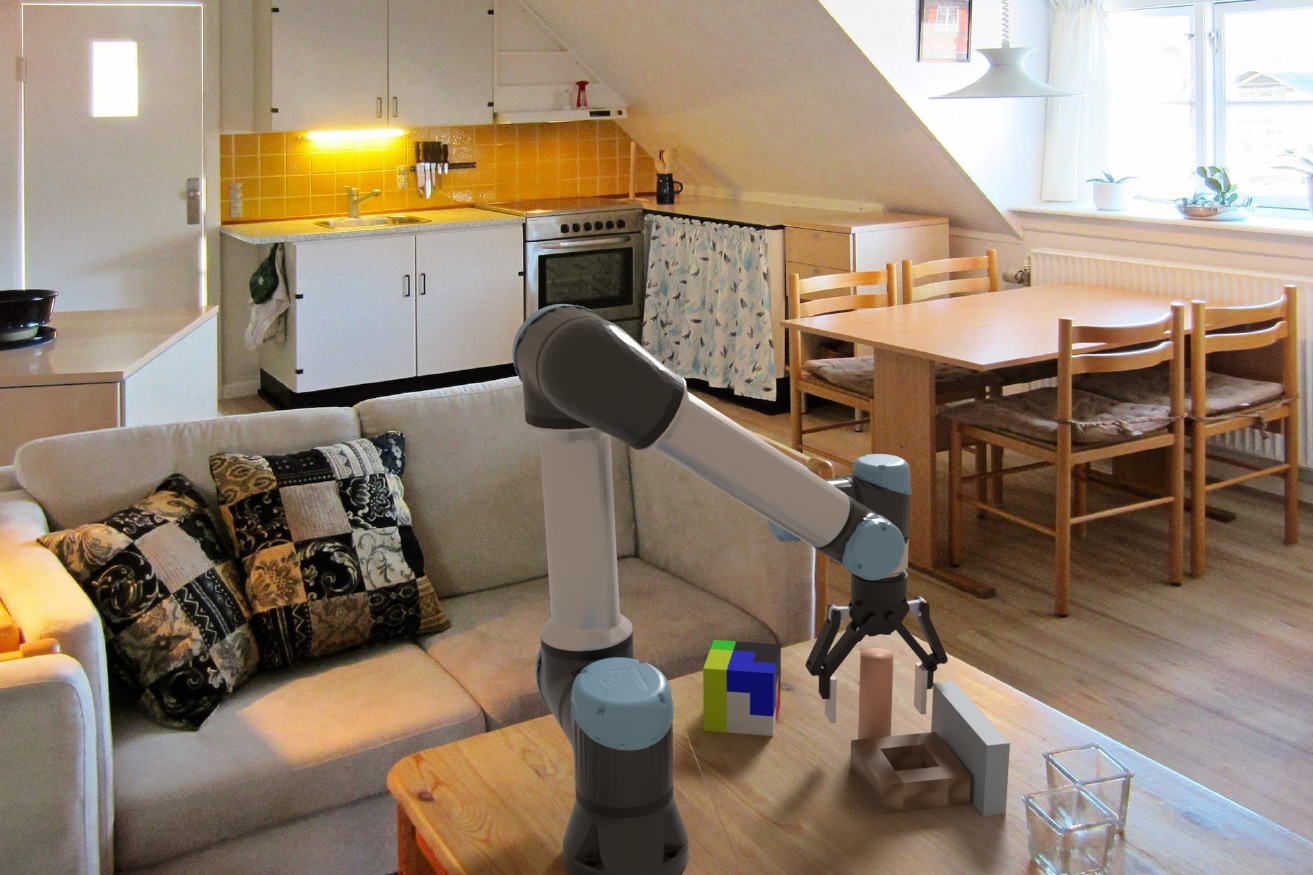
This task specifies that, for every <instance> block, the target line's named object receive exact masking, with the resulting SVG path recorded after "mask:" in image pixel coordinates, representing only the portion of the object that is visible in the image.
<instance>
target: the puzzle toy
mask: <svg viewBox="0 0 1313 875" xmlns="http://www.w3.org/2000/svg"><path fill="white" fill-rule="evenodd" d="M702 668H703V669H702V672H703V673H702V674H703V675H702V676H703V678H702V679H703V682H702V684H703V686H702V687H703V689H702V692H703V693H702V694H703V695H702V696H703V698H702V699H703V732H705V731H706V732H717V733H731V734H742V735H755V736H767V737H773V736H774V733H775V730H776V724H777V721H778V718H779V714H780V709H781V692H782V691H781V690H782V688H781V684H782V683H781V681H782V680H781V679H782V678H781V675H782V670H781V669H782V644H779V643H766V642H750V641H749V642H748V641H738V640H737V641H734V640H721V639H720V640H718V639H713V642H712V645H711V646H710V649H709V652H708V654H707V658H706V660H705V663H704V666H703V667H702Z"/></svg>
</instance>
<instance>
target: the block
mask: <svg viewBox="0 0 1313 875" xmlns="http://www.w3.org/2000/svg"><path fill="white" fill-rule="evenodd" d="M849 764H850V768H851V770H852V772H853V774H854V775H855V776H856V778H857V780H858V781H859V783H860V784H861V786H862V788H863V789H864V791H865V792H866V794H867V796H868V797H869V799H870V801H871V802H872V804H873V806H874V807H875V808H876V810H877V811H878V812H877V813H879V815H881V814H889V813H897V812H898V813H899V812H905V811H906V812H907V811H916V810H917V811H918V810H924V809H933V808H934V809H935V808H944V807H945V808H946V807H954V806H961V805H962V806H964V805H970V801H971V800H970V785H971V775H970V774H969V773H968V771H967V770H966V769H965V768H964V766H963V765H962V764H961V763H960V761H959V760H958V759H957V758H956V756H955V755H954V754H953V753H952V751H951V750H950V749H949V748H948V746H947V745H946V744H945V743H944V741H943V740H942V739H941V738H940V736H939V735H938V734H937V733H936V732H931V731H929V732H920V733H910V734H909V733H908V734H900V735H891V736H888V737H877V738H867V739H858V738H857V739H851V740H850V763H849Z"/></svg>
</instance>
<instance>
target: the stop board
mask: <svg viewBox="0 0 1313 875" xmlns="http://www.w3.org/2000/svg"><path fill="white" fill-rule="evenodd" d="M931 703H932V705H931V723H930V724H931V726H930V728H931V729H930V732H936V733H937V734H938V735H939V736H940V738H941V739H942V740H943V741H944V743H945V744H946V745H947V746H948V748H949V749H950V750H951V751H952V753H953V754H954V755H955V756H956V758H957V759H958V760H959V761H960V763H961V764H962V765H963V766H964V768H965V769H966V770H967V771H968V773H969V774H970V775H971V785H970V801H971V802H972V803H973V805H974V806H975V807H976V809H977V810H978V811H979V813H980V814H981V816H983V817H988V816H996V815H1005V814H1006V813H1007V799H1008V782H1009V767H1010V766H1009V765H1010V749H1011V748H1010V747H1011V743H1010V741H1009V740H1008V739H1007V738H1006V737H1005V736H1004V735H1003V734H1002V733H1001V731H1000V730H999V729H998V728H997V727H996V726H995V725H994V724H993V722H992V721H991V720H990V719H989V718H988V717H987V716H986V715H985V714H984V712H982V710H981V709H980V708H979V707H978V706H977V705H976V704H975V703H974V701H973V700H972V699H971V698H970V697H969V696H968V695H967V694H966V692H965V691H964V690H963V689H962V688H961V687H960V686H959V684H957V683H956V681H955V680H949V681H948V680H947V681H938V682H933V687H932V702H931Z"/></svg>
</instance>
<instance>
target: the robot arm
mask: <svg viewBox="0 0 1313 875" xmlns="http://www.w3.org/2000/svg"><path fill="white" fill-rule="evenodd" d="M511 354H512V361H513V362H512V363H513V368H515V369H514V371H515V373H516V376H517V377H518V379H519V380H520V381H521V383H522V392H523V393H522V394H523V395H522V396H523V405H524V406H523V407H524V420H525V421H524V422H525V424H526V426H527V427H529V429H531V431H533V432H534V433H535V434H537V436H538V437H539V438H538V441H539V451H540V452H539V454H540V469H541V471H540V472H541V483H542V498H543V510H544V511H543V513H544V526H545V528H544V529H545V543H546V557H547V572H548V573H547V574H548V588H549V599H550V600H549V602H550V615H551V617H550V618H549V619H548V620H547V621H546V622H545V623H544V625H542V627H541V629H540V631H539V632H540V633H539V634H540V647H539V650H538V652H537V655H536V659H535V666H534V667H535V669H534V674H535V681H536V685H537V689H538V692H539V695H540V697H541V700H543V702H544V704H545V705H546V707H547V708H548V709H549V710H550V712H551V714H552V715H553V716H554V718H555V719H556V721H557V723H558V725H559V726H560V728H561V730H562V731H563V733H564V735H565V736H566V738H567V740H568V741H569V743H570V745H571V747H572V751H573V758H574V759H573V760H574V761H573V762H574V763H573V765H574V787H575V801H574V804H573V807H572V811H571V812H570V817H569V820H568V823H567V826H566V829H565V833H564V836H563V839H562V840H563V841H562V858H563V866H564V868H565V870H566V871H567V873H568V874H569V875H680V874H682V872H683V871H684V870H685V868H686V867H687V865H688V862H689V856H690V855H689V854H690V852H689V851H690V850H689V835H688V833H687V829H686V827H685V824H684V821H683V819H682V816H681V813H680V811H679V808H678V806H677V803H676V800H675V797H674V740H673V739H674V732H673V731H674V730H673V729H674V727H673V726H674V725H673V722H674V715H675V714H674V713H675V706H674V701H673V698H672V690H671V684H670V683H669V680H668V679H667V677H666V676H665V674H663V672H661V671H660V669H658V668H657V667H655V666H654V665H651V664H650V663H648V662H644V663H641V662H640V660H639V659H635V653H634V651H635V650H634V633H633V632H634V631H633V623H632V622H631V621H630V619H628V618H627V617H626V616H624V615H623V614H622V613H621V612H620V594H619V573H618V556H617V554H618V553H617V535H616V534H617V533H616V514H615V497H614V478H613V475H614V474H613V461H612V460H613V459H612V440H611V439H612V438H611V437H613V438H616V439H617V440H618V441H621V442H623V443H624V444H626V445H628V446H629V447H630V448H633V449H634V450H636V451H639V452H644V451H648V450H651V449H652V450H653V451H655V452H657V454H660V455H662V456H663V457H665V458H666V459H669V461H671V462H673V463H675V464H676V465H678V466H680V467H681V468H683V469H685V470H686V471H688V472H689V473H691V474H693V475H694V476H696V477H698V478H700V479H701V480H703V481H704V482H706V483H708V484H709V485H711V486H713V487H714V488H716V489H717V490H719V491H721V492H723V493H724V494H725V495H728V496H729V497H731V498H733V500H735V501H738V503H740V504H742V505H744V506H745V507H747V508H749V509H751V510H752V511H753V512H756V513H757V514H759V515H760V516H762V517H763V518H765V519H766V521H767V525H768V528H769V530H770V533H771V534H772V536H773V537H774V538H775V539H776V541H778V542H781V543H789V542H790V543H791V542H794V543H799V542H801V541H802V542H805V543H806V544H808V545H810V546H811V547H813V548H814V549H815V550H817V551H819V552H820V553H822V554H823V555H825V556H827V557H829V558H830V559H831V560H833V561H835V562H837V563H838V564H839V565H842V567H844V568H845V569H846V570H847V571H848V572H850V601H849V603H848V605H847V606H836V604H835V603H829V604H828V605H827V607H826V617H825V621H824V623H823V625H822V628H821V630H820V631H819V634H818V636H817V638H816V640H815V642H814V645H813V646H812V649H811V651H810V654H809V656H808V658H807V659H806V662H805V666H804V667H805V668H806V669H807V670H808V672H809V675H811V676H812V677H816V676H817V677H818V693H819V696H820V697H821V699H822V700H824V715H825V717H826V718H827V720H828V722H829V723H830V724H836V723H837V682H838V681H837V680H838V679H837V678H836V676H835V675H834V674H835V672H836V671H837V670H838V669H839V667H840V666H841V665H842V664H843V663H844V660H845V659H847V657H848V656H849V654H850V653H851V652H852V651H853V650H854V648H855V647H856V645H857V644H858V643H860V642H862V641H863V639H864V638H865V636H868V637H869V638H871V637H876V636H879V635H882V636H890V635H892V633H894V632H895V631H896V632H897V634H899V636H900V637H901V638H902V639H903V641H904V642H905V643H906V644H907V645H908V646H909V648H910V649H911V650H912V651H913V653H914V654H915V655H916V656H917V657H918V659H919V660H920V661H921V662H915V663H914V664H915V665H914V666H915V669H914V688H913V689H914V695H913V706H914V708H915V709H916V710H917V712H918V713H919V714H920V715H926V714H927V698H928V696H927V695H928V694H927V693H928V690H933V683H934V675H935V674H934V673H935V672H936V671H937V670H938V665H945V664H947V663H948V660H949V658H948V656H947V654H946V651H945V649H944V646H943V644H942V642H941V640H940V637H939V635H938V633H937V631H936V628H935V626H934V624H933V621H932V619H931V616H930V615H931V612H930V604H929V602H927V601H926V599H924V597H922V596H920V595H918V596H916V597H915V598H914V599H913V600H907V599H908V598H907V596H908V574H909V573H908V572H907V569H908V567H909V563H908V562H909V540H910V539H909V535H910V534H909V533H910V514H911V512H910V510H911V495H912V484H911V483H912V482H911V468H910V464H909V463H908V462H907V460H905V459H903V458H902V457H900V456H898V455H892V454H886V453H870V454H865V455H863V456H859V457H857V458H856V459H855V460H854V462H853V464H852V466H853V467H852V470H851V474H850V475H849V474H848V475H845V476H841V477H838V476H837V477H831V478H822V477H820V476H819V475H818V474H816V473H814V472H813V471H812V470H810V469H809V468H806V467H805V466H804V465H802V464H800V462H797V461H796V460H794V459H793V458H791V457H790V456H788V455H787V454H785V453H783V452H782V451H780V450H779V449H778V448H776V447H774V446H773V445H771V444H770V443H768V442H767V441H765V440H764V439H762V438H760V437H758V436H757V435H755V433H752V432H751V431H749V430H748V429H746V428H744V427H743V426H742V425H740V424H739V423H738V422H735V421H734V420H732V419H731V418H729V417H728V416H726V415H725V414H723V413H722V412H720V411H718V410H717V409H715V408H714V407H712V406H711V405H709V404H708V403H706V402H704V401H703V400H701V399H700V398H698V397H697V396H695V395H694V394H692V393H690V392H689V391H688V387H687V381H686V380H685V378H683V377H682V376H681V375H679V374H678V373H676V372H674V370H672V369H670V368H669V367H668V366H666V365H665V364H663V362H661V361H660V360H659V359H658V358H656V357H655V356H654V355H652V354H651V353H650V352H649V351H648V350H647V349H646V348H644V347H643V346H642V345H641V344H640V343H639V342H637V340H635V338H633V337H632V336H631V335H630V334H628V332H626V331H625V330H624V329H623V328H622V327H619V325H617V324H615V323H613V322H611V321H609V320H607V319H605V318H602V317H600V316H599V315H598V314H597V313H595V312H594V311H593V310H591V309H589V308H586V307H585V306H581V305H578V304H575V305H574V304H567V303H560V304H559V303H557V304H552V305H547V306H545V307H542V308H540V309H538V310H536V311H535V312H533V313H532V314H531V315H529V317H528V318H526V319H525V320H524V322H523V323H522V324H521V325H520V327H519V328H518V330H517V332H516V335H515V337H514V340H513V344H512V353H511ZM909 612H911V613H912V614H913V616H915V617H916V619H917V620H918V623H919V625H920V628H921V630H922V632H923V634H924V636H925V638H926V641H927V644H928V646H929V648H930V650H931V652H932V653H929V654H928V653H927V652H926V650H925V649H924V648H923V647H922V646H921V644H920V643H919V642H918V641H917V640H916V639H915V637H914V636H913V635H912V633H911V632H910V631H909V629H907V627H906V626H905V625H904V624H903V621H904V619H905V618H906V617H907V615H908V614H909ZM847 617H850V618H851V620H850V621H849V623H848V624H847V625H846V626H845V627H846V628H845V630H844V633H843V634H842V635H841V636H840V637H839V639H838V640H837V642H836V643H835V644H834V645H833V643H834V641H835V638H836V636H837V635H838V632H839V630H840V627H841V624H843V623H844V622H845V620H846V618H847ZM832 645H833V647H832Z"/></svg>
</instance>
